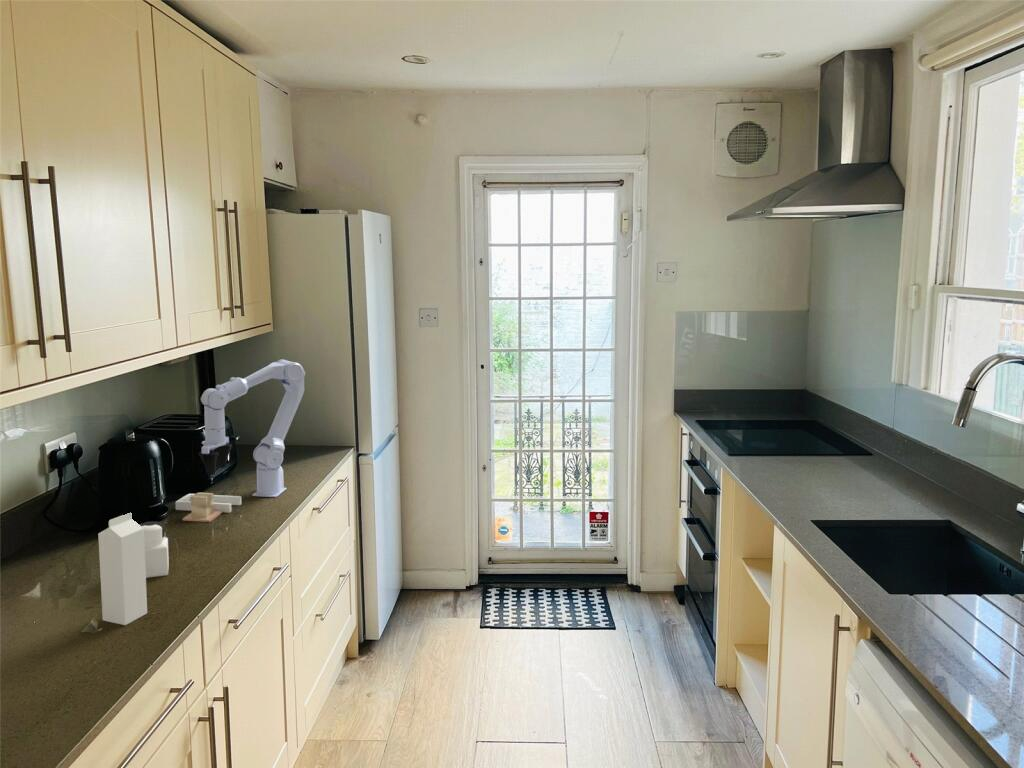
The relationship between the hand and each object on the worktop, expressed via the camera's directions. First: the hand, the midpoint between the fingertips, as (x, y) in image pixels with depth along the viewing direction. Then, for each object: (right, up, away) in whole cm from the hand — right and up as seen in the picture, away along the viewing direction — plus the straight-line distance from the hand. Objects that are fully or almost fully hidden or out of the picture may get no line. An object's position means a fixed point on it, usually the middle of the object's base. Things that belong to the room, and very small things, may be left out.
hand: (216, 470), depth 231 cm
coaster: (0, -12, -11) cm, 17 cm away
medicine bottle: (+5, -19, -51) cm, 55 cm away
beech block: (0, -12, -11) cm, 16 cm away
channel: (-1, -11, -2) cm, 11 cm away
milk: (+10, -22, -74) cm, 78 cm away
